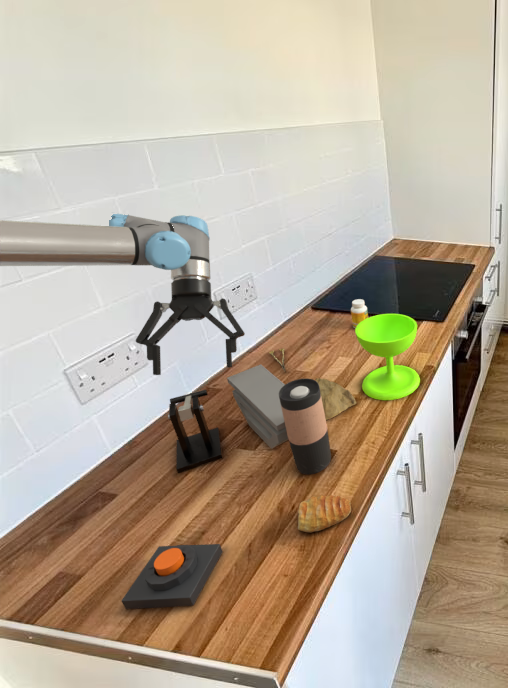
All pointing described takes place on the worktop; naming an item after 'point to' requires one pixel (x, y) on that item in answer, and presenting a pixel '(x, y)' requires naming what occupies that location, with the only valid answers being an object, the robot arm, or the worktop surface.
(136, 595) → the button block
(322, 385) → the rock
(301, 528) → the pastry
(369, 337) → the wineglass
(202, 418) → the switch bracket
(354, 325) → the supplement bottle
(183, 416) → the switch lever
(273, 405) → the sharpening stone
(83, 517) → the worktop surface
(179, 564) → the button
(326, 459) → the travel mug
